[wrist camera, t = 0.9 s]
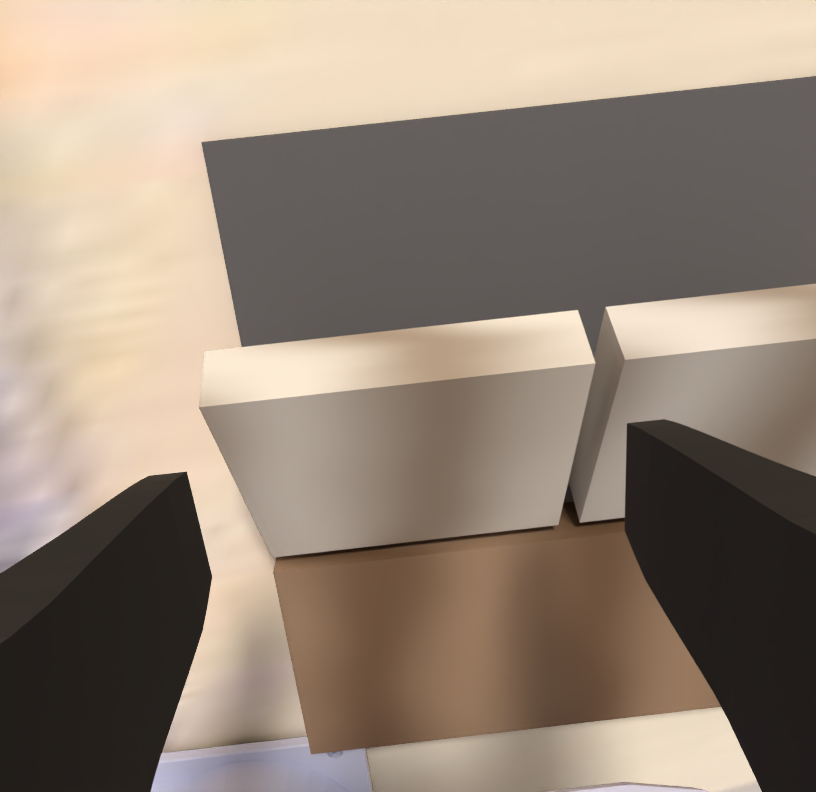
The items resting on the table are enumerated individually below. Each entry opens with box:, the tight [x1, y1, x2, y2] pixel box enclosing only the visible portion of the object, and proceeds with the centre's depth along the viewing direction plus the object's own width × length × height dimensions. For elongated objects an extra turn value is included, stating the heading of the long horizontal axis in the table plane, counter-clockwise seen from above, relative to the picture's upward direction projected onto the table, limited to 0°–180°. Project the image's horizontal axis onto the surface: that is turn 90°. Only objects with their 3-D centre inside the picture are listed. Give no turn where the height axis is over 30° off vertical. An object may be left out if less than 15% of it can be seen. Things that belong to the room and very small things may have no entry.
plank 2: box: [569, 284, 816, 523], centre depth 18 cm, size 8×7×2 cm
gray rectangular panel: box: [202, 76, 816, 502], centre depth 19 cm, size 17×11×1 cm, turn 96°
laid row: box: [274, 501, 721, 754], centre depth 22 cm, size 17×7×2 cm, turn 96°
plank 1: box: [199, 310, 596, 558], centre depth 18 cm, size 8×7×2 cm
